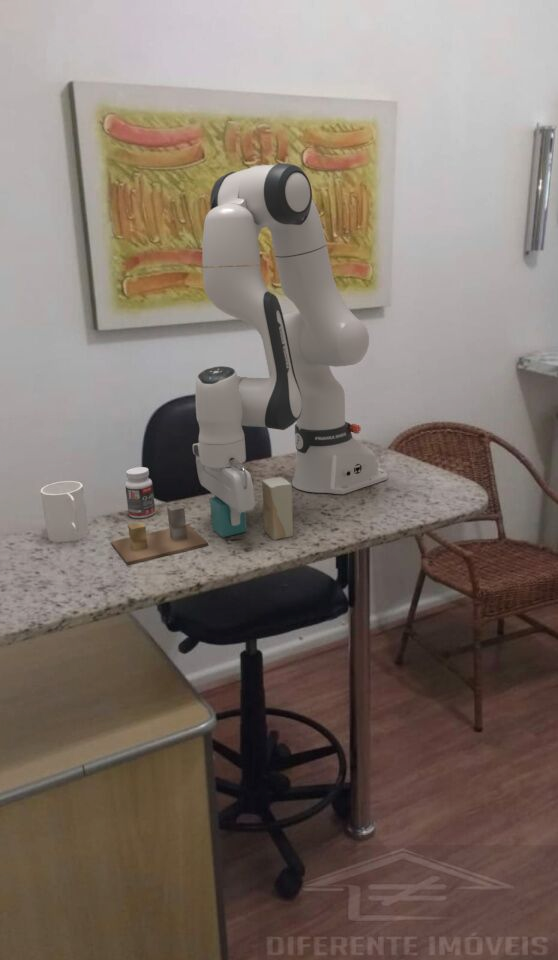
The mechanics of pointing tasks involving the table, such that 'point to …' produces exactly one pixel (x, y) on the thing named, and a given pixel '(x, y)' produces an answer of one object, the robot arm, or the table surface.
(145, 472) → the pill bottle
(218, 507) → the teal rectangular block
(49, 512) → the cup
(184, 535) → the stand
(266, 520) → the box
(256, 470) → the table surface
